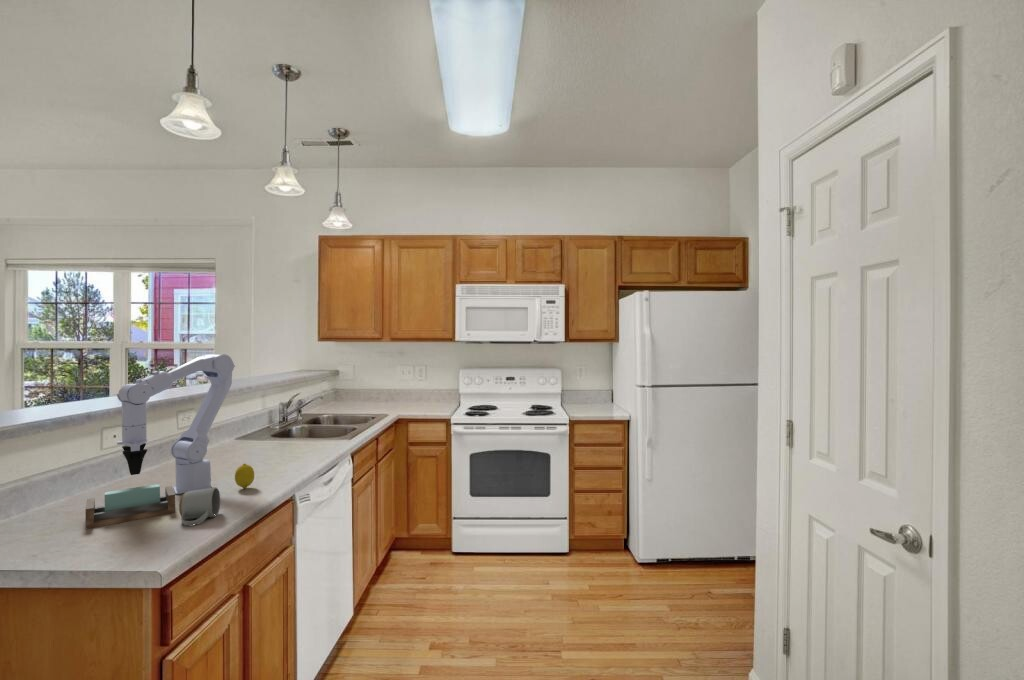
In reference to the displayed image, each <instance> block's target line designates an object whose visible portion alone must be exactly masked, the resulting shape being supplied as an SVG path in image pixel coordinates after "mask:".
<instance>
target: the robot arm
mask: <svg viewBox="0 0 1024 680" xmlns="http://www.w3.org/2000/svg"><path fill="white" fill-rule="evenodd" d="M235 367H236V366H235V362H234V361H233V359H232V357H231V356H230V355H228V354H225V353H224V354H223V353H221V354H212V353H205V354H203V355H200V356H197V357H195V358H193V359H191V360H189V361H187V362H186V363H185V362H184V364H183V363H182V365H180V366H177V367H175V368H173V369H171V370H170V371H168V372H167V371H165V370H164V371H163V370H160V371H159V370H154V371H152V372H151V374H150V375H148V376H147V377H144V378H138V379H136V380H135V382H134V383H127V384H124V385H122V387H121V388H120V389H119V391H118V393H117V394H116V397H117V400H119V402H121V440H118V441H116V445H118V446H119V445H122V447H121V448H122V449H123V450H122V455H123V456H124V458H125V460H126V462H127V465H128V470H129V474H130V476H135V475H136V476H137V475H140V474H141V471H142V468H143V467H142V466H143V462H144V458H145V456H146V454H147V452H148V449H147V448H146V446H147V442H148V438H147V402H148V401H149V400H150V398H151V397H153V396H155V395H157V394H160V393H162V392H164V391H166V390H168V389H170V388H172V386H173V384H174V382H176V381H178V380H180V379H183V378H185V377H188V376H190V375H193V374H195V373H197V372H202V373H203V374H204V375H205V377H207V378H208V379H209V382H210V384H211V385H210V387H209V389H208V391H207V393H206V395H205V396H204V399H203V400H202V403H201V405H200V407H199V408H198V411H197V412H196V414H195V417H194V418H193V420H192V422H191V424H190V426H189V428H188V429H187V430H185V431H184V432H183V433H181V434H180V436H179V438H178V439H177V440H176V441H174V442H173V444H172V445H171V447H170V454H171V456H172V457H173V458H175V486H172V487H173V490H174V493H175V495H181V494H184V493H186V492H189V491H194V490H201V489H208V488H212V484H211V483H212V478H211V475H212V474H211V473H212V471H211V461H210V459H209V458H207V459H206V458H205V457H206V455H207V452H208V445H209V442H210V439H209V436H208V433H209V431H210V429H211V428H212V425H213V423H214V421H215V418H216V417H217V415H218V413H219V410H220V409H221V407H222V405H223V402H225V399H226V397H227V395H228V393H229V390H230V388H231V386H232V382H233V371H234V368H235ZM204 458H205V459H204Z"/></svg>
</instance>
